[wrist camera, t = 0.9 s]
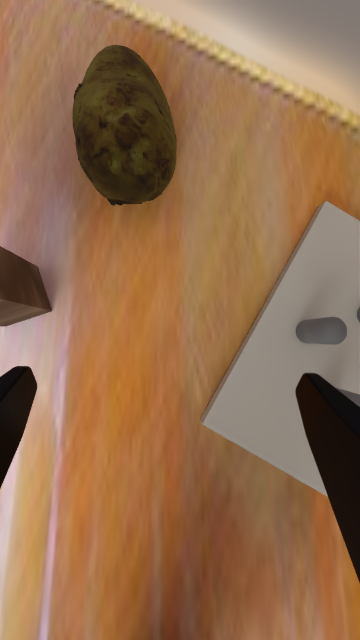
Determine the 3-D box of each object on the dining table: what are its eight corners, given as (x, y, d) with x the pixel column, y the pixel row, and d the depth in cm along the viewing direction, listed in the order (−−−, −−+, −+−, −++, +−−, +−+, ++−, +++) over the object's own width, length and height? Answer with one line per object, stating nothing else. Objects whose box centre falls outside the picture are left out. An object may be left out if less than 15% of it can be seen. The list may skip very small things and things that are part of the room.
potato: (197, 106, 24) (213, -6, 16) (162, 238, 23) (161, 187, 15) (108, 80, 24) (81, -48, 16) (69, 213, 23) (19, 147, 15)
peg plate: (359, 511, 23) (409, 556, 18) (200, 419, 22) (209, 441, 18) (463, 295, 25) (533, 285, 20) (318, 207, 24) (355, 176, 20)
